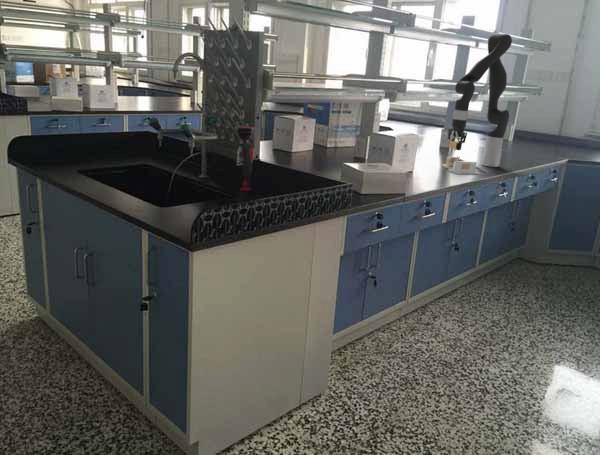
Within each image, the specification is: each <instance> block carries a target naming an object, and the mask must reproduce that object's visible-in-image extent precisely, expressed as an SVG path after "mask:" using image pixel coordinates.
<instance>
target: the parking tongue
mask: <svg viewBox="0 0 600 455" xmlns="http://www.w3.org/2000/svg"><path fill="white" fill-rule="evenodd" d="M459 157H460V156H458V157H457V156H447V157H446V162H445V163H444V164H443V163H442V164H441V167H442V168H445V169H448V170H449V169H453V164H454V161H459V159H460V158H459Z"/></svg>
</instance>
